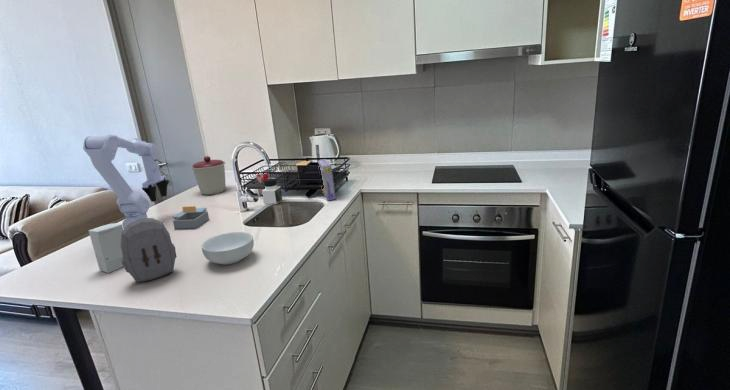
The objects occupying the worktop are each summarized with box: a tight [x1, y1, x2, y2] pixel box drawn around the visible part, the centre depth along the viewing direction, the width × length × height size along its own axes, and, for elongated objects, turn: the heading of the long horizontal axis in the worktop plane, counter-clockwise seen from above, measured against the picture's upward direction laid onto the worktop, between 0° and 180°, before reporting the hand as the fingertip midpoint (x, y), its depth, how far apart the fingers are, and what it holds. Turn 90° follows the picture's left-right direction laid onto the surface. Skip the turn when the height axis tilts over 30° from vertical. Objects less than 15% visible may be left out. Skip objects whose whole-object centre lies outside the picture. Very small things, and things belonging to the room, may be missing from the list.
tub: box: [172, 210, 210, 230], centre depth 168 cm, size 11×10×4 cm
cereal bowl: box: [201, 231, 255, 266], centre depth 130 cm, size 17×17×7 cm
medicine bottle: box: [261, 177, 283, 205], centre depth 191 cm, size 7×7×12 cm
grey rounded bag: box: [120, 217, 178, 283], centre depth 119 cm, size 15×8×20 cm, turn 127°
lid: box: [172, 205, 207, 219], centre depth 183 cm, size 12×11×4 cm
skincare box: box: [88, 222, 125, 274], centre depth 130 cm, size 8×6×15 cm
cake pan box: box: [317, 158, 337, 201], centre depth 194 cm, size 19×5×18 cm, turn 14°
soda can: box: [256, 172, 271, 196], centre depth 206 cm, size 7×7×12 cm
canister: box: [190, 155, 227, 196], centre depth 216 cm, size 18×18×21 cm
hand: (159, 198), depth 174 cm, fingers open, 7 cm apart
